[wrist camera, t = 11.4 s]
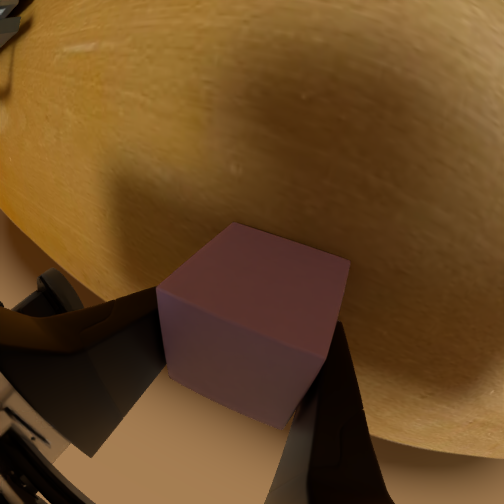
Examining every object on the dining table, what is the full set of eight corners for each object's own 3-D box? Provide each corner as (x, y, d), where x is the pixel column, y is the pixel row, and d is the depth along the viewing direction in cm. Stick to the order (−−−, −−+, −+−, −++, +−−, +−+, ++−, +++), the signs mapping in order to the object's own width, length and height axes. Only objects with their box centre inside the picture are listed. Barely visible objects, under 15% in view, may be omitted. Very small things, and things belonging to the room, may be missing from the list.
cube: (316, 344, 10) (282, 431, 7) (224, 308, 11) (168, 378, 8) (351, 260, 8) (326, 358, 5) (233, 220, 9) (154, 286, 6)
